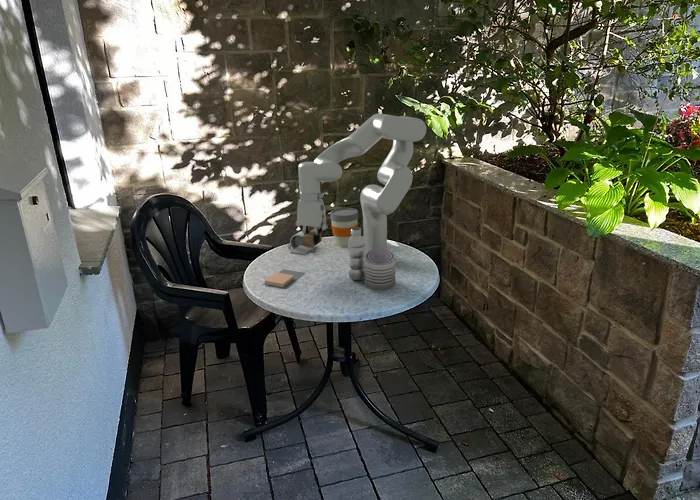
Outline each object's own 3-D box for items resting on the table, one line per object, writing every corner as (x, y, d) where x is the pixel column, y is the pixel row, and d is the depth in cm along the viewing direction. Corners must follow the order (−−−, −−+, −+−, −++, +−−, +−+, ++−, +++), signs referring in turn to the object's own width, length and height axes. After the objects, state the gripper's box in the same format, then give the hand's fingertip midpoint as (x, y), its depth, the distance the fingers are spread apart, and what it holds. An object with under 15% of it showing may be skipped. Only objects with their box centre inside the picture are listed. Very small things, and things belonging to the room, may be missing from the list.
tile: (294, 275, 187) (283, 283, 180) (294, 279, 187) (283, 287, 180) (275, 272, 190) (264, 280, 183) (276, 276, 190) (264, 284, 184)
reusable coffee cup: (325, 244, 222) (324, 212, 217) (344, 236, 231) (343, 206, 225) (346, 250, 214) (345, 217, 209) (364, 242, 223) (364, 210, 218)
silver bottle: (357, 273, 191) (355, 225, 184) (369, 278, 187) (368, 228, 179) (345, 278, 187) (343, 229, 180) (357, 284, 183) (356, 233, 175)
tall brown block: (311, 239, 192) (310, 228, 191) (324, 241, 190) (324, 230, 188) (290, 253, 179) (289, 241, 177) (304, 255, 176) (304, 244, 175)
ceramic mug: (313, 245, 221) (312, 229, 219) (306, 252, 214) (305, 235, 211) (291, 244, 225) (290, 228, 222) (284, 250, 217) (282, 234, 215)
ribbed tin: (400, 281, 184) (400, 251, 179) (388, 294, 174) (388, 263, 170) (372, 276, 189) (372, 247, 184) (359, 288, 179) (358, 258, 175)
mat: (306, 274, 192) (305, 272, 192) (286, 290, 180) (286, 288, 180) (283, 270, 197) (283, 269, 196) (262, 285, 184) (262, 284, 184)
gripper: (334, 195, 180) (336, 242, 187) (295, 191, 187) (298, 237, 193) (325, 200, 174) (327, 249, 181) (285, 196, 180) (288, 243, 187)
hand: (312, 242), depth 187 cm, fingers closed on tall brown block, 3 cm apart
